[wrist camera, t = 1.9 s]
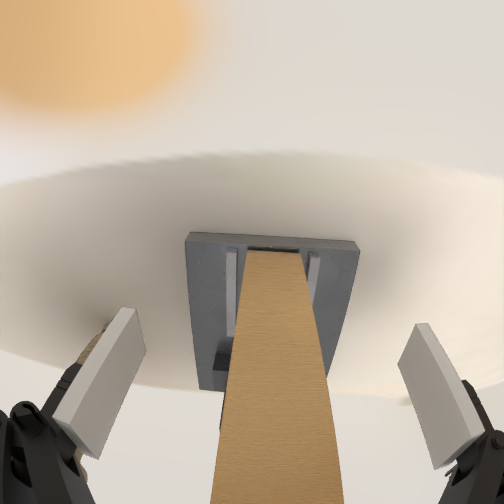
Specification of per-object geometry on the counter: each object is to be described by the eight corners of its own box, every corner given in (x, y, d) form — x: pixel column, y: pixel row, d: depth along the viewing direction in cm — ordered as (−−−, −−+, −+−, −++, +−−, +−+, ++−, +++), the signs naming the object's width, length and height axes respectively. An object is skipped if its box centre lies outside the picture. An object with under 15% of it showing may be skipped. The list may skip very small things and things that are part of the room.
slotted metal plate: (202, 377, 25) (189, 434, 19) (190, 231, 19) (158, 282, 13) (318, 383, 25) (326, 440, 19) (354, 241, 19) (387, 294, 13)
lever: (242, 297, 19) (208, 551, 5) (243, 246, 17) (194, 543, 4) (297, 300, 19) (321, 552, 5) (303, 250, 17) (358, 541, 3)
